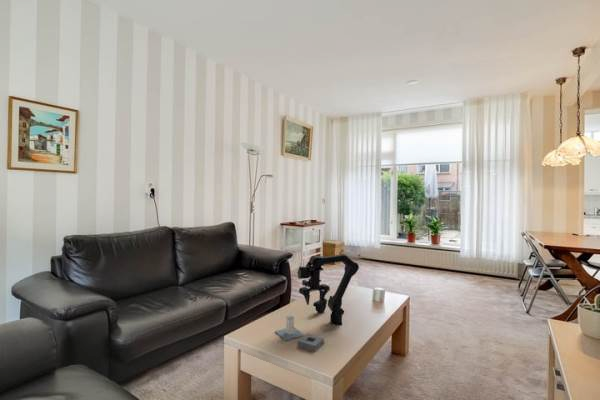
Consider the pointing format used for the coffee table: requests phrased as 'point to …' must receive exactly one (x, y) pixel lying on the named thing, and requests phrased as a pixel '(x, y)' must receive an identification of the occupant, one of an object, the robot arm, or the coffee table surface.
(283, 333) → the mat
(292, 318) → the plug
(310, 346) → the socket block
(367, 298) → the coffee table surface
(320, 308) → the controller
